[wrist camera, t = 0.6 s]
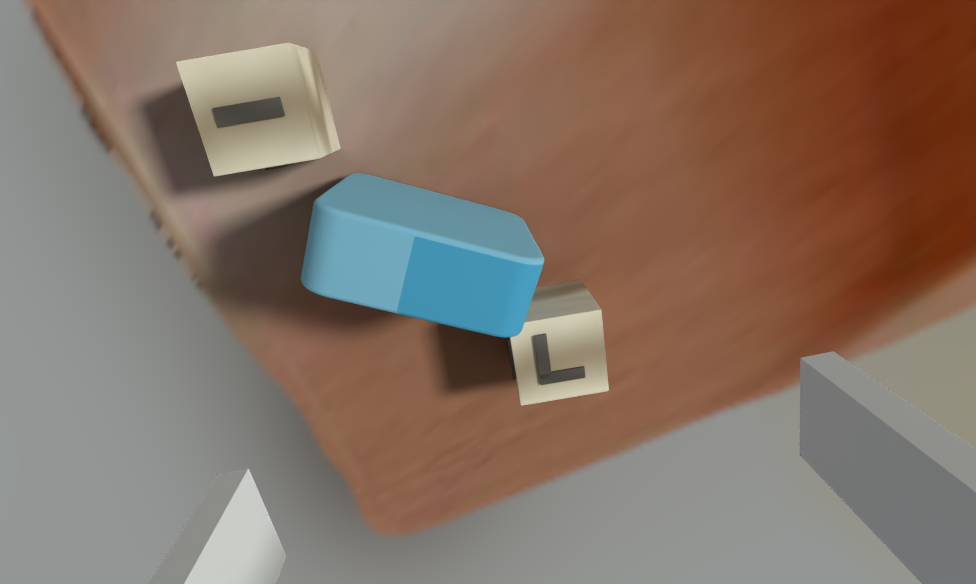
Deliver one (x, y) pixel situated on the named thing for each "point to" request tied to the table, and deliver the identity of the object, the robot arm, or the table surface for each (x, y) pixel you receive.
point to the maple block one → (260, 107)
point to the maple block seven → (559, 345)
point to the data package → (422, 255)
